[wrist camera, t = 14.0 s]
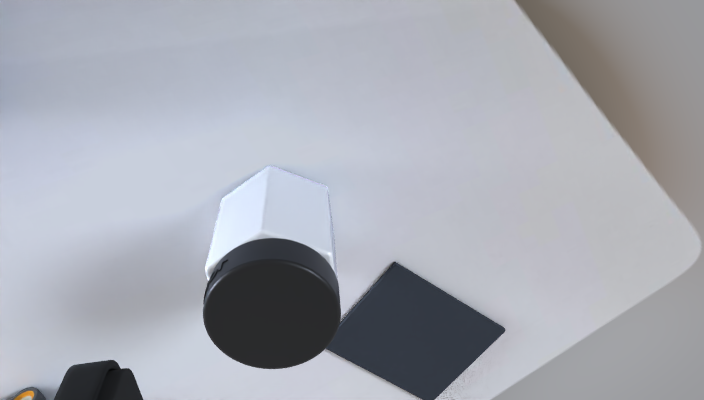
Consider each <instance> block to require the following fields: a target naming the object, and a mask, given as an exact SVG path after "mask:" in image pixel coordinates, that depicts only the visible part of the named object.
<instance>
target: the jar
mask: <svg viewBox="0 0 704 400" xmlns="http://www.w3.org/2000/svg"><path fill="white" fill-rule="evenodd" d="M205 272H206V276H207V280H208V283H207V287H206V291H205V295H204V303H203V304H204V307H203V319H204V324H205V328H206V331H207V333H208V335H209V337H210V338H211V340H212V341H213V343H214V344H215V345H216V346H217V347H218V348H219V349H220V350H221V351H222V352H223V353H225V354H226V355H227V356H229V357H230V358H232V359H234V360H236V361H238V362H240V363H243V364H245V365H248V366H252V367H257V368H263V369H281V368H288V367H292V366H296V365H299V364H302V363H304V362H307V361H309V360H311V359H312V358H314V357H316V356H317V355H318V354H320V353H321V352H322V351H323V350H324V349H325V348H326V347H327V346H328V345H329V344H330V343H331V341H332V340H333V339H334V337H335V335H336V333H337V330H338V328H339V324H340V318H341V309H340V296H339V285H338V275H337V263H336V250H335V237H334V230H333V222H332V215H331V207H330V200H329V192H328V187H327V186H326V185H323V184H320V183H318V182H315V181H312V180H310V179H307V178H304V177H301V176H299V175H296V174H293V173H291V172H288V171H285V170H282V169H280V168H277V167H274V166H272V165H269V166H267V167H266V168H264V169H263V170H261V171H260V172H259V173H257V174H256V175H254V176H253V177H252V178H250V179H249V180H247V181H246V182H245V183H243V184H242V185H240V186H239V187H237V188H236V189H235V190H233V191H232V192H230V193H229V194H228V195H226V196H225V197H223V198H222V200H221V204H220V209H219V213H218V217H217V221H216V225H215V229H214V234H213V238H212V242H211V246H210V250H209V254H208V259H207V263H206V267H205Z"/></svg>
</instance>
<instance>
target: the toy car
mask: <svg viewBox="0 0 704 400" xmlns="http://www.w3.org/2000/svg"><path fill="white" fill-rule="evenodd" d="M11 400H46V399H45V397H44V396H43V394H42V393H41V392H40V391H39V390H38V389H36V388H34V387H30V388H27V389H24V390H22V391H21V392H19V393H18V394H16V395H15V396H14V397H13V398H12V399H11Z"/></svg>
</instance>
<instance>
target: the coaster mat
mask: <svg viewBox="0 0 704 400" xmlns="http://www.w3.org/2000/svg"><path fill="white" fill-rule="evenodd" d="M504 332H505V328H504V327H502V326H500V325H499V324H497V323H495V322H494V321H492V320H490V319H489V318H487V317H485V316H484V315H482V314H480V313H479V312H477V311H475V310H474V309H472V308H471V307H469V306H467V305H466V304H464V303H462V302H461V301H459V300H457V299H456V298H454V297H452V296H451V295H449V294H447V293H446V292H444V291H442V290H441V289H439V288H437V287H436V286H434V285H432V284H431V283H429V282H428V281H426V280H424V279H423V278H421V277H419V276H418V275H416V274H414V273H413V272H411V271H409V270H408V269H406V268H404V267H403V266H401V265H399V264H398V263H396V262H394V264H393V265H392V266H391V267H390V268H389V269H388V270H387V271H386V272H385V274H384V275H383V276H382V277H381V278H380V279H379V280H378V281H377V283H376V284H375V285H374V286H373V287H372V288H371V289H370V290H369V291H368V293H367V294H366V295H365V296H364V297H363V298H362V299H361V300H360V302H359V303H358V304H357V305H356V306H355V307H354V308H353V309H352V310H351V312H350V313H349V314H348V315H347V316H346V317H345V318H344V319H343V321H342V322H341V323H340V324H339V328H338V330H337V333H336V335H335V337H334V339H333V340H332V341H331V343H330V344H329V345H328V346H327V347H326V349H328V350H330V351H331V352H333V353H335V354H337V355H339V356H341V357H343V358H345V359H347V360H349V361H351V362H352V363H354V364H356V365H358V366H360V367H362V368H364V369H366V370H368V371H370V372H372V373H373V374H375V375H377V376H379V377H381V378H383V379H385V380H387V381H389V382H391V383H392V384H394V385H396V386H398V387H400V388H402V389H404V390H406V391H408V392H410V393H412V394H413V395H415V396H417V397H419V398H421V399H423V400H434V399H435V398H436V397H438V396H439V395H440V394H441V393H442V392H443V391H444V390H445V389H446V388H447V387H448V386H449V385H450V384H451V383H452V382H453V381H454V380H455V379H456V378H457V377H458V376H459V375H460V374H461V373H462V372H463V371H464V370H465V369H467V368H468V367H469V366H470V365H471V364H472V363H473V362H474V361H475V360H476V359H477V358H478V357H479V356H480V355H481V354H482V353H483V352H484V351H485V350H486V349H487V348H488V347H489V346H490V345H491V344H492V343H493V342H494V341H495V340H497V339H498V338H499V337H500V336H501V335H502V334H503V333H504Z"/></svg>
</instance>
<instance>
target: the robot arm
mask: <svg viewBox="0 0 704 400" xmlns="http://www.w3.org/2000/svg"><path fill="white" fill-rule="evenodd" d="M54 400H143V398H142V395H141V393H140V390H139V388H138V385H137V382H136V380H135V377H134V375H133V373H132V371H131V370H130V369H128V368H126V369H121V368H120V367H119V365H118V363H117V362H116V361H114V360H108V361H100V362H93V363H85V364H78V365H73V366H71V367H70V368H69V369H68V371H67V372H66V374H65V376H64V379H63V381H62V383H61V385H60V387H59V390H58V392H57V394H56V396H55V398H54Z"/></svg>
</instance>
